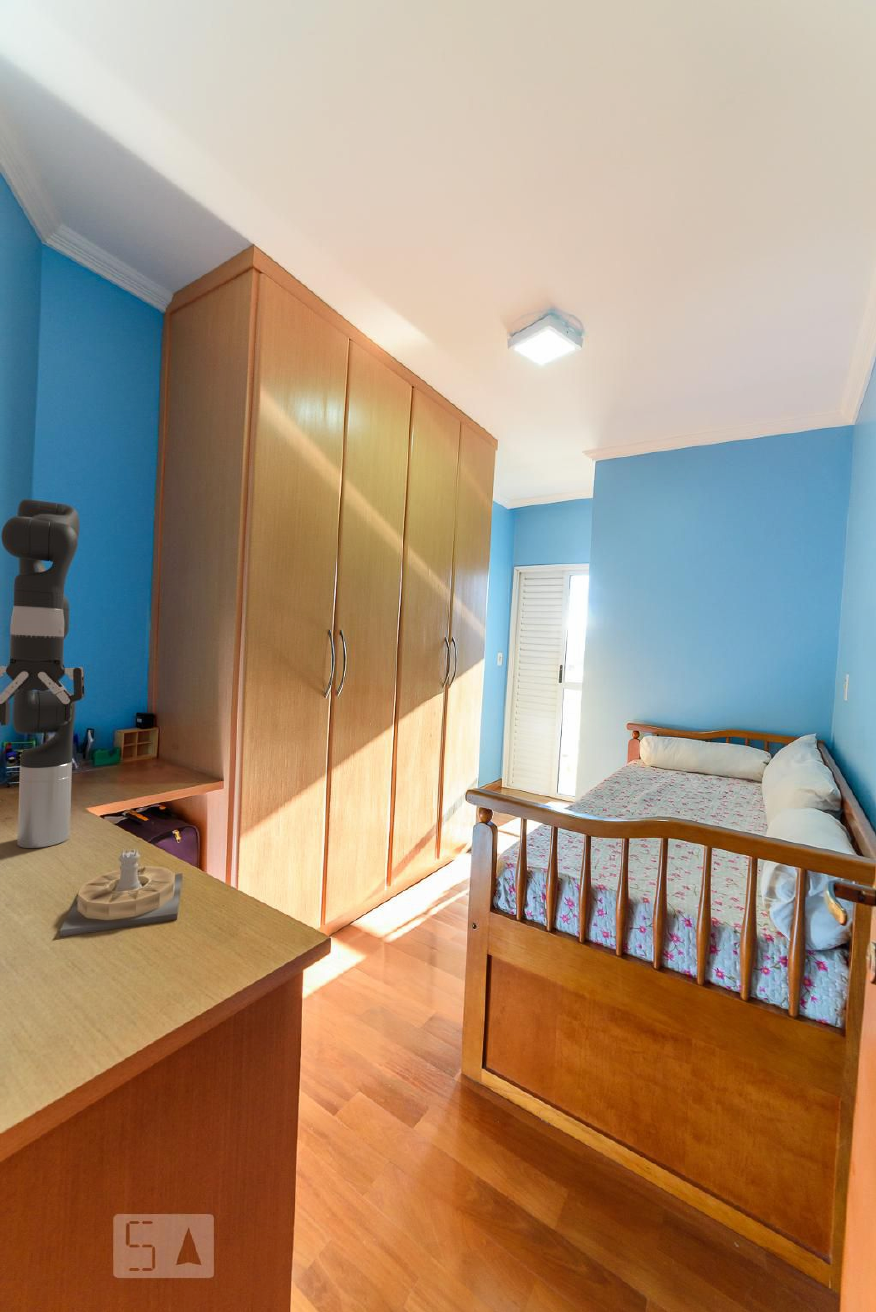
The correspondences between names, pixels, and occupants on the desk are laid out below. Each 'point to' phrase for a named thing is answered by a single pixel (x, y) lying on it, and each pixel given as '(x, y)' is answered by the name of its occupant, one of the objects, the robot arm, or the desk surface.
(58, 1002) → the desk surface
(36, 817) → the robot arm
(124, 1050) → the desk surface
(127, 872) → the rook chess piece
